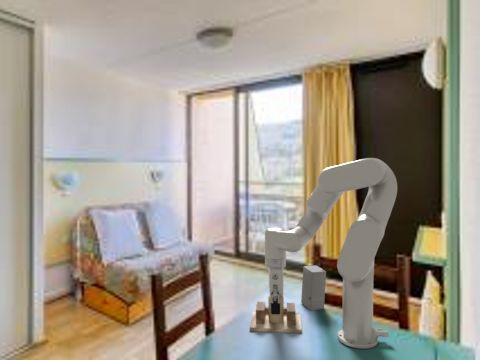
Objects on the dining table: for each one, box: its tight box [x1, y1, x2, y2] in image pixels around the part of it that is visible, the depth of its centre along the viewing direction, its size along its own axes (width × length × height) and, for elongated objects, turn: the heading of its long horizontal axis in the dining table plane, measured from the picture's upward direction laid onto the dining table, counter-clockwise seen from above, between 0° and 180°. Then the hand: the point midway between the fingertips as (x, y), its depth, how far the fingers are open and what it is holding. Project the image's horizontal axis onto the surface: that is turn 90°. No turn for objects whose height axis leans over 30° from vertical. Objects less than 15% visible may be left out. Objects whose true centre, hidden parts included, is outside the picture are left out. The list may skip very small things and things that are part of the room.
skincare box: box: [300, 264, 327, 311], centre depth 147 cm, size 8×7×16 cm
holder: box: [249, 301, 303, 334], centre depth 132 cm, size 18×14×6 cm
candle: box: [267, 293, 285, 323], centre depth 131 cm, size 6×6×10 cm
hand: (275, 308), depth 132 cm, fingers open, 9 cm apart
